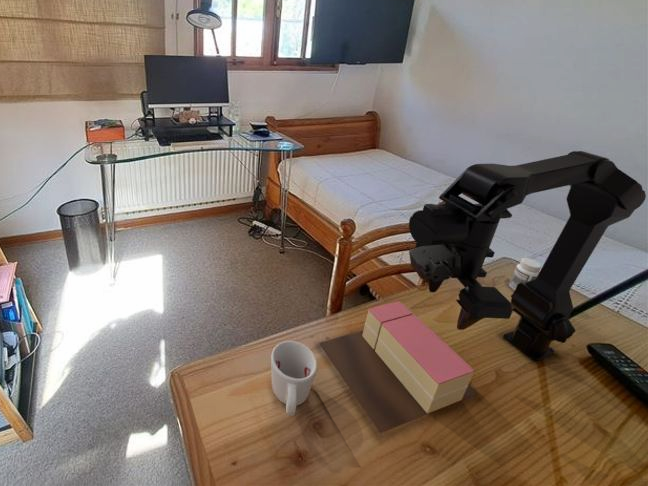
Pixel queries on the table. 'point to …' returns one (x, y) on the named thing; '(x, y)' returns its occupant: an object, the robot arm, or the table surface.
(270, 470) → the table surface
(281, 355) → the cup
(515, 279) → the pill bottle
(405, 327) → the cake
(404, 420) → the serving board
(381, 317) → the cake slice
